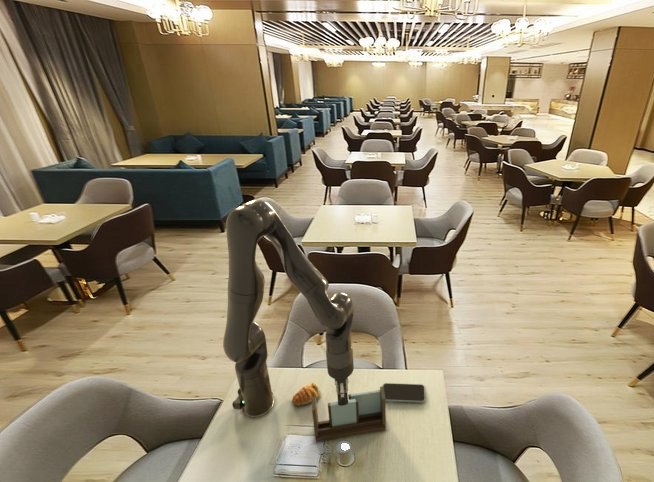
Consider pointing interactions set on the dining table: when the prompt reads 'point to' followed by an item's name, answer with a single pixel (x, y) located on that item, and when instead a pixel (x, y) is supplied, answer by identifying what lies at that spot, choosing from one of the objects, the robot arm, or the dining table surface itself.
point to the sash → (343, 413)
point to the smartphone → (404, 392)
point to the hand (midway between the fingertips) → (342, 401)
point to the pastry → (306, 395)
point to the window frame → (369, 417)
